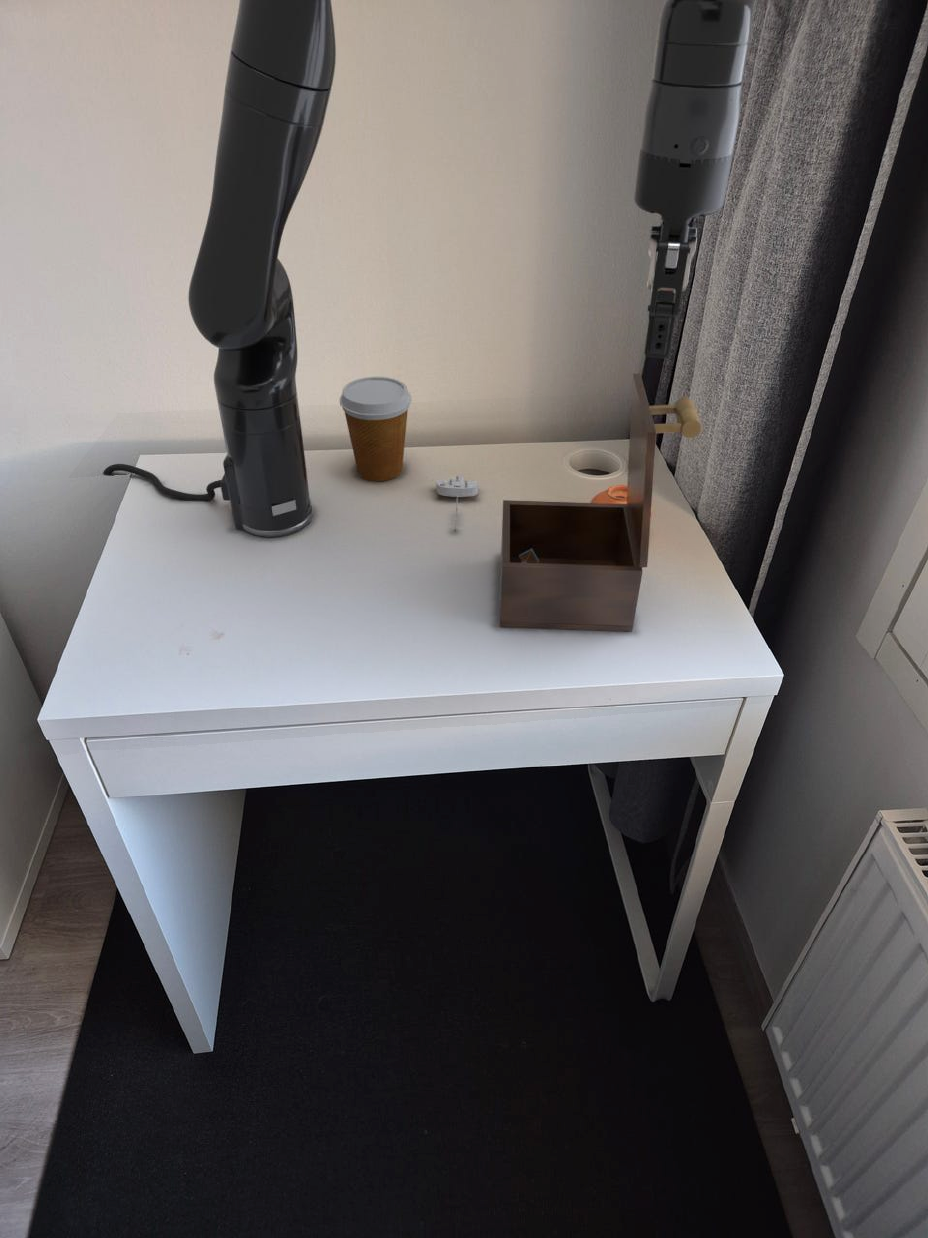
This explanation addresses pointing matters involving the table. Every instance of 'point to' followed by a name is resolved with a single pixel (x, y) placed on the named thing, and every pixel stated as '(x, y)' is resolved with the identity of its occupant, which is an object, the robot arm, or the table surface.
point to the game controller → (457, 489)
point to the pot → (613, 496)
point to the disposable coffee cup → (377, 425)
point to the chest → (568, 566)
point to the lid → (650, 456)
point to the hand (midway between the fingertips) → (658, 338)
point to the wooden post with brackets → (528, 557)
